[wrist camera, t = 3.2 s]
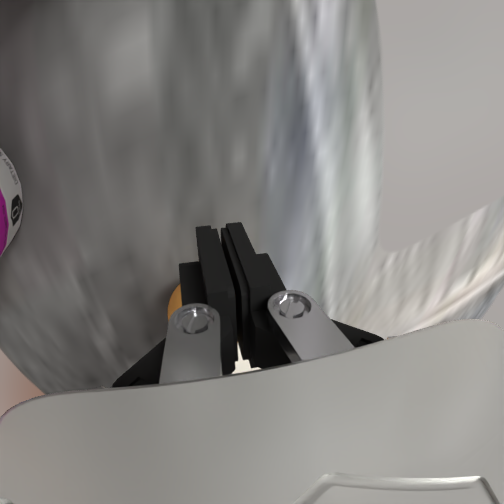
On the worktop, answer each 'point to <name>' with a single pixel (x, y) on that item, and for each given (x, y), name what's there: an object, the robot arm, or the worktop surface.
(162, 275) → the worktop surface
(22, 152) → the worktop surface
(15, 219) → the supplement can
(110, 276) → the worktop surface
